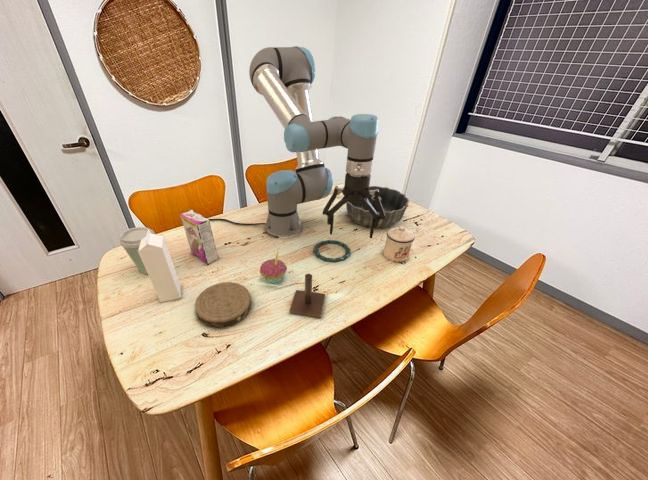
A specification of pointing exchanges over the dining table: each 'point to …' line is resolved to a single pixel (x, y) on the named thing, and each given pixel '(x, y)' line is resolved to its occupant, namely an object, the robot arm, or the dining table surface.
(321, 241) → the ring
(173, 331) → the dining table surface
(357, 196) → the robot arm
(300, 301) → the post
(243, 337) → the dining table surface
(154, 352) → the dining table surface
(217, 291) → the wood slice
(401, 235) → the teacup with lid
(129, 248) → the disposable coffee cup
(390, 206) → the bundt pan
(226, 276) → the dining table surface
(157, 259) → the milk
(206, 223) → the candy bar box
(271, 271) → the cupcake
